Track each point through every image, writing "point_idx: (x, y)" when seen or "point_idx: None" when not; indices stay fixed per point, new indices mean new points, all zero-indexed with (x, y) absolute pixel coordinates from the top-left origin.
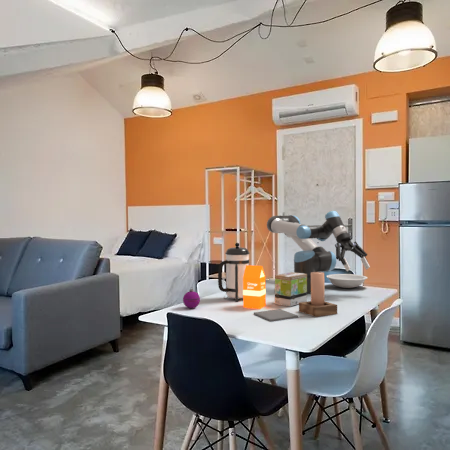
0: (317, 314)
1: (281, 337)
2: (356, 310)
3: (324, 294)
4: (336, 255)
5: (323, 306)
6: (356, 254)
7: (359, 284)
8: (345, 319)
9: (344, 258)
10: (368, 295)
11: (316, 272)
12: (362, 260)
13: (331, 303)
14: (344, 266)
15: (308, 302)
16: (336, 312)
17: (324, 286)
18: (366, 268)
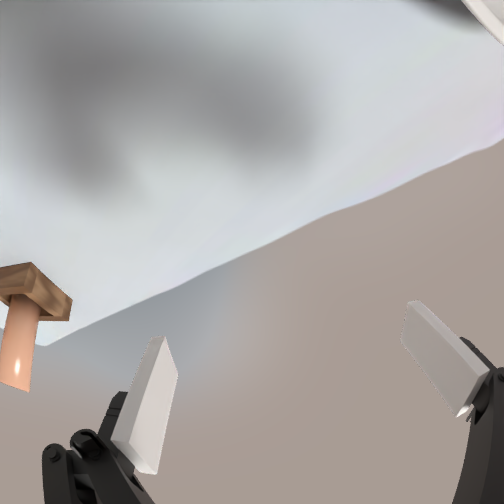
0: None
1: None
2: (127, 293)
3: (35, 336)
4: (50, 492)
5: (40, 319)
6: (491, 444)
7: (495, 13)
8: (84, 320)
9: (141, 466)
10: (368, 132)
11: (9, 385)
12: (457, 370)
13: (55, 312)
14: (136, 375)
15: (4, 294)
16: (70, 303)
17: (32, 356)
18: (408, 314)
